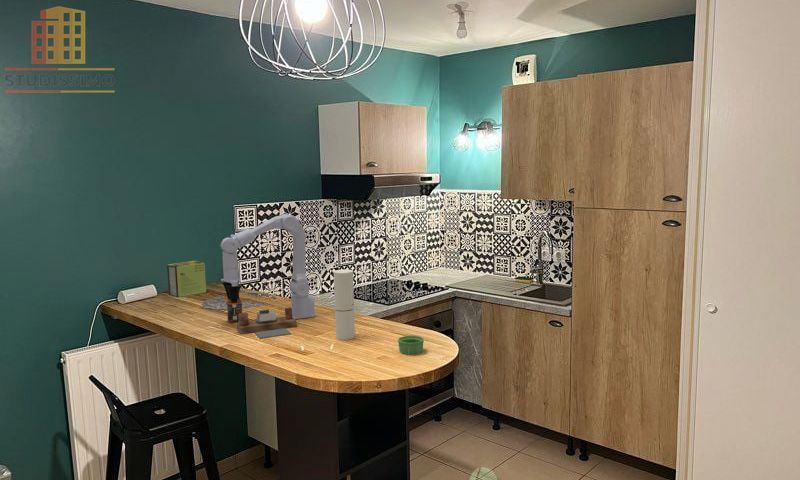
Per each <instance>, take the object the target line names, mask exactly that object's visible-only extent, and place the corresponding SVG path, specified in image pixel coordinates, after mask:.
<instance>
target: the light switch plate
mask: <svg viewBox="0 0 800 480" xmlns="http://www.w3.org/2000/svg"><path fill="white" fill-rule="evenodd" d="M276 313H277V312H276V311H274V310H270V309H262V310H261V309H260V310H259V311H258V312H256V320H259V321H260V322H262V321H269V320H276V318H277V314H276Z"/></svg>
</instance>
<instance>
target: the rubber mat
mask: <svg viewBox="0 0 800 480" xmlns="http://www.w3.org/2000/svg"><path fill="white" fill-rule="evenodd" d="M254 334H255V335H256V336H257V337H258V338H259V339H267V338H268V339H269V338H274V337H280V336H288V335H289V336H290V335H292V332H290V330H288V328H283V329H276V330H269V331H261V332H254Z"/></svg>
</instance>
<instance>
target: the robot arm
mask: <svg viewBox="0 0 800 480" xmlns="http://www.w3.org/2000/svg"><path fill="white" fill-rule="evenodd" d="M273 229H277V230H278V229H280V230H282V229H283V230H285V231H287V233H289V234H290V235H291V236H292V242H293V243H292V270H293V271H292V275H291V280H290V282H289V285H288V286H289V290H290V291H291V295H290V298H291V299H290V302H291V303H290V304H291V305H290V307H291V308H292V317H293V318H294V319H295V320H297V319H298V320H299V319H306V318H314V317H316V310H315V309H316V307H315V306H316V304H315V298H314V295H313V294H310V285H309V283H308V277H307V274H306V236H307V235H306V231H305V229H304V226H302V224H301V222H300V219H298V218H297V217H296V216H294V215H291V214H288V213H280V215H277V216H274V217H272V218H270V219H268V220H267V221H264V222H263V223H260V224H259V225H257V226H255V227H253V228H252V229H251V228H242V229H240V231H238V232H237V233H235V234H233V233H232V234H230V237H225V238H224V239H222V241H221V242H220V248H221V250H222V268H223V269H222V270H223V278H220V282H222V285H223V288H224V291H225V295H227V298H228V299H230V300H231V303H237V300H238V294H240V290H241V288H242V285H241V284H239V285H238V282H239V281H240V277H239V261H238V253H237V252H238V249H241V248H242V247H244V246H247V245H249V244H251V243H253V242H254V241H255V239H256V237H257V236H260V235H261V234H264V233H266V232H268V231H271V230H273Z"/></svg>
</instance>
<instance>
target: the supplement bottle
mask: <svg viewBox="0 0 800 480" xmlns="http://www.w3.org/2000/svg"><path fill="white" fill-rule="evenodd" d="M239 294H240V293H239ZM239 294H238V300H237V303H231V300H230V299H228V300H227V310H226V311H227V321H228V322H229V323H239V313H243V309H242V300H241V299H240V298H239Z"/></svg>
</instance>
